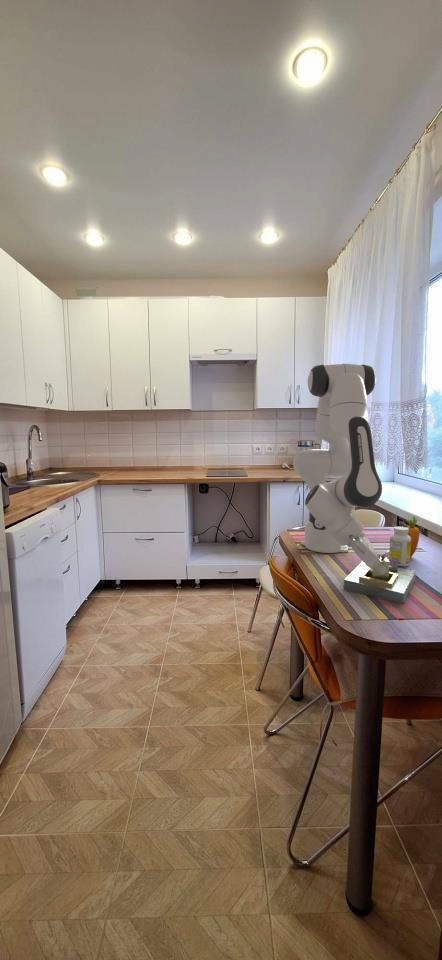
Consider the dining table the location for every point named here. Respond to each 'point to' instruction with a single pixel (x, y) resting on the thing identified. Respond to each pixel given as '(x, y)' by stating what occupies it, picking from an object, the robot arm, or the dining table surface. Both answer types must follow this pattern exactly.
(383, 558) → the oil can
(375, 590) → the grey base plate
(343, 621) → the dining table surface
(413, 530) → the carrot
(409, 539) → the supplement bottle
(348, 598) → the dining table surface
